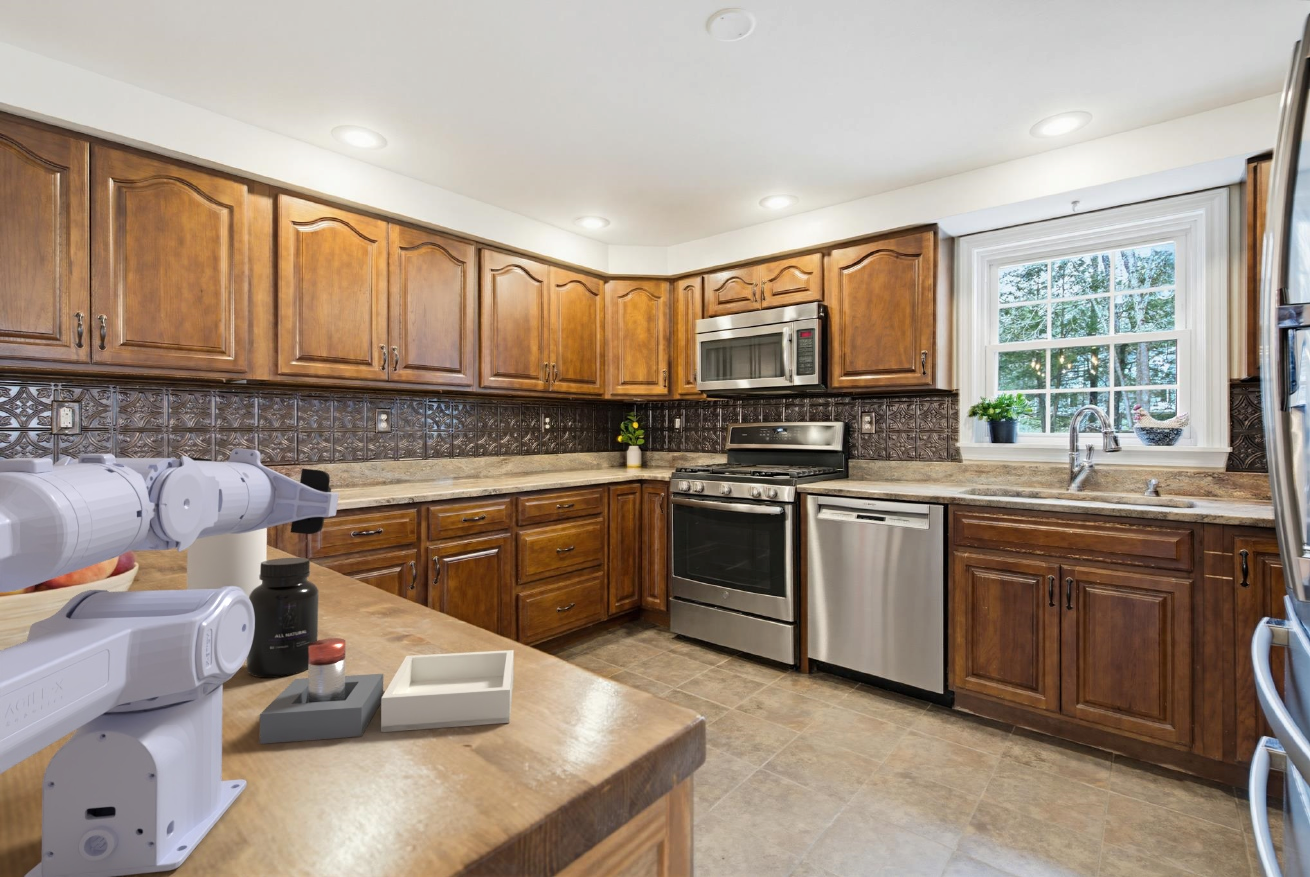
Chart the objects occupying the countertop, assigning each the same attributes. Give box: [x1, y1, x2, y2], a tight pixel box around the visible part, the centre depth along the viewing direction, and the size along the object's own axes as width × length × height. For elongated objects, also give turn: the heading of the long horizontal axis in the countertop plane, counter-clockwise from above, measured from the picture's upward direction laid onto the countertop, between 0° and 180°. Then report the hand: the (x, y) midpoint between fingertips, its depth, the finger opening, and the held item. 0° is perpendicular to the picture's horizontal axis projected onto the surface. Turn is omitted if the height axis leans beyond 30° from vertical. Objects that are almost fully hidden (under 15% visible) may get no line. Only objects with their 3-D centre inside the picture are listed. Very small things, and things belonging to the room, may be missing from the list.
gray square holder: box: [259, 673, 384, 745], centre depth 58 cm, size 8×8×2 cm
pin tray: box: [380, 649, 515, 733], centre depth 62 cm, size 11×11×3 cm
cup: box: [186, 528, 268, 598], centre depth 79 cm, size 8×8×16 cm
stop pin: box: [307, 637, 346, 703], centre depth 58 cm, size 3×3×7 cm
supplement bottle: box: [246, 557, 319, 678], centre depth 71 cm, size 7×7×12 cm
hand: (284, 493), depth 61 cm, fingers open, 7 cm apart
